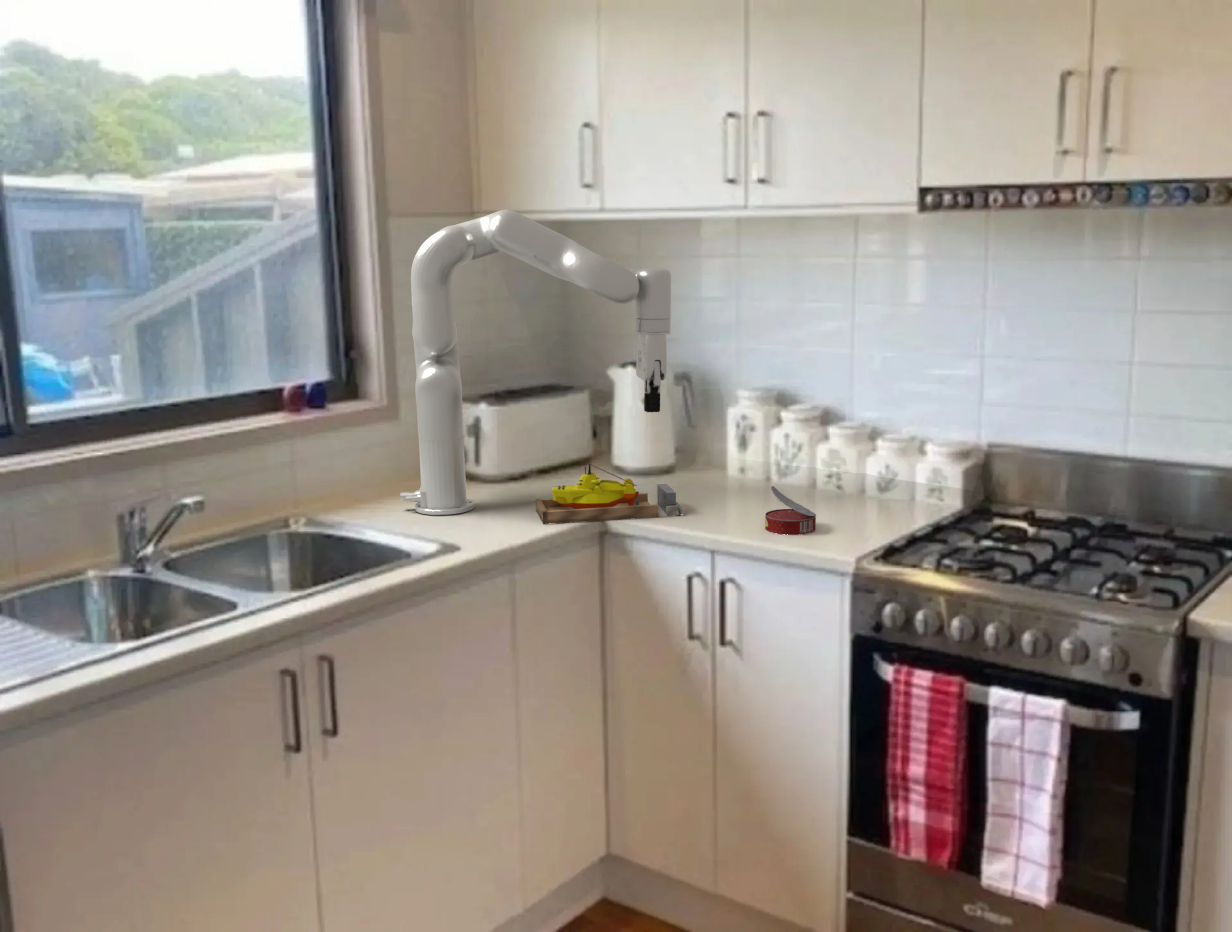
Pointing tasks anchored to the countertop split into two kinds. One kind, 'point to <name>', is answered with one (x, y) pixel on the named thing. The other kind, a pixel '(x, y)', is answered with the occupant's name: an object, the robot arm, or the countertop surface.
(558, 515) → the bay
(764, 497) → the countertop surface
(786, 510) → the canned food
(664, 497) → the grey rectangular block
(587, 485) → the toy boat
